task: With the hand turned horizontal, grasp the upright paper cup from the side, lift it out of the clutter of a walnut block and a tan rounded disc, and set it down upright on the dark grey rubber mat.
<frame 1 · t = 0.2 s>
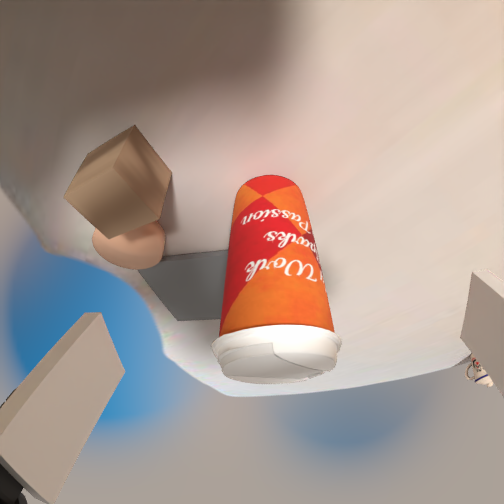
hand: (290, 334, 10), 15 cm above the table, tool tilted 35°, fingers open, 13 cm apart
mat: (212, 288, 37), on the table
walnut block: (129, 162, 22), on the table
teacup with lid: (478, 351, 72), on the table
paper cup: (268, 198, 26), on the table
tan rounded disc: (131, 232, 29), on the table
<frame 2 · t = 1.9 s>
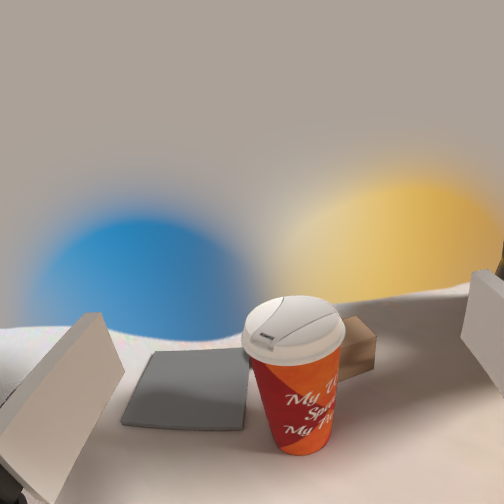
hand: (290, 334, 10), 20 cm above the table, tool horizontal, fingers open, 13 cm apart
mat: (191, 387, 36), on the table
walnut block: (346, 364, 36), on the table
paper cup: (302, 434, 27), on the table
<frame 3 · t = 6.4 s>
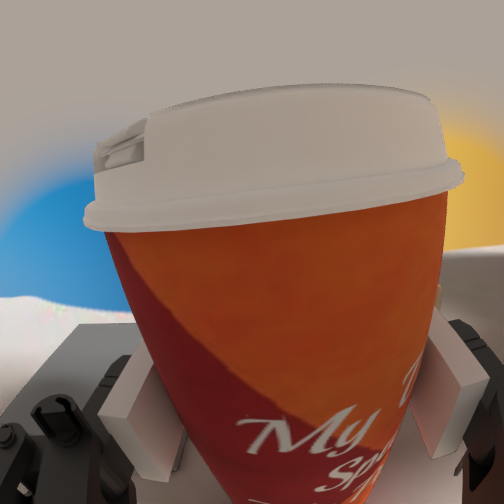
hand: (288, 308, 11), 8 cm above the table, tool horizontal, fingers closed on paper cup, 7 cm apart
mat: (110, 379, 20), on the table
paper cup: (303, 491, 11), on the table, touching gripper
when the fingers open (9 cm above the table, at t = 11.3 s): paper cup moves 1 cm, on the table.
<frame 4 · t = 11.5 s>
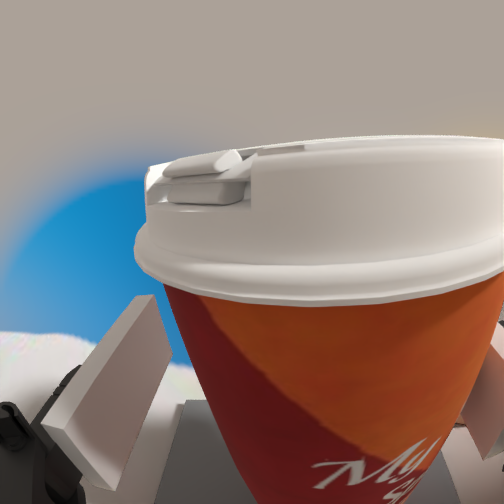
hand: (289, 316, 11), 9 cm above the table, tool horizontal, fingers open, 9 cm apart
mat: (303, 499, 11), on the table
paper cup: (331, 503, 10), resting on mat, touching gripper
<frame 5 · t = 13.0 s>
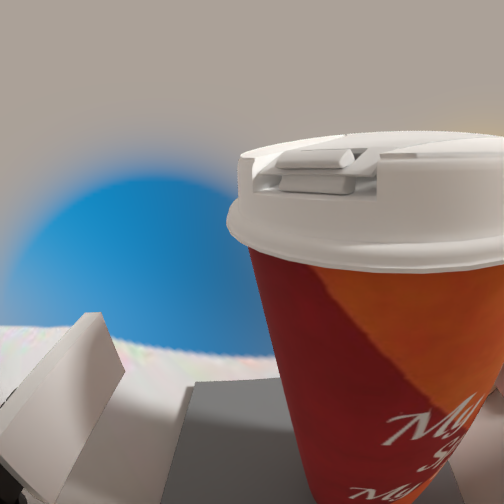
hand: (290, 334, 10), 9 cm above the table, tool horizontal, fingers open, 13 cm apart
mat: (307, 469, 13), on the table
paper cup: (368, 475, 11), point 1 cm above the table, touching gripper, mat
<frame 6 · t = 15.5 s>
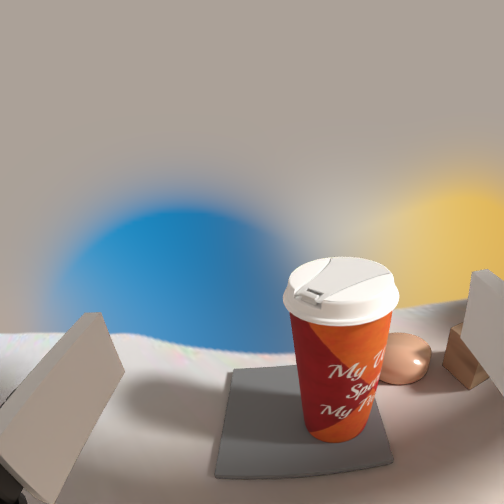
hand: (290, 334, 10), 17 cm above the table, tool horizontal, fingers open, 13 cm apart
mat: (301, 415, 26), on the table
walnut block: (470, 369, 26), on the table
paper cup: (336, 420, 24), resting on mat
tan rounded disc: (397, 364, 30), on the table
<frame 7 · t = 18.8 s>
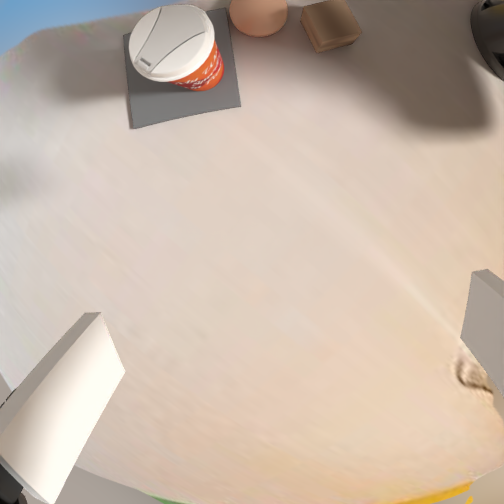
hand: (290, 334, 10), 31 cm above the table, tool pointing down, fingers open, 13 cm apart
mat: (178, 66, 34), on the table
walnut block: (326, 32, 31), on the table
paper cup: (202, 70, 34), resting on mat
tan rounded disc: (259, 14, 31), on the table
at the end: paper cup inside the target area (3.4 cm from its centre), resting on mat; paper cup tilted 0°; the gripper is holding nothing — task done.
